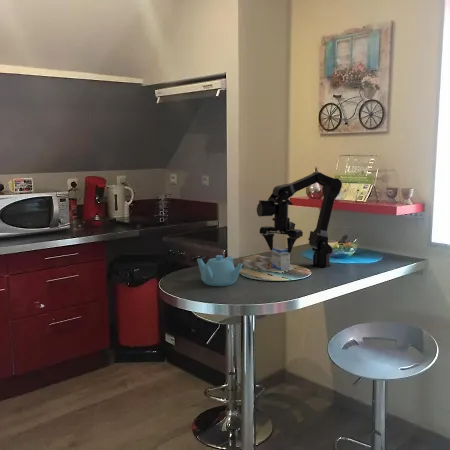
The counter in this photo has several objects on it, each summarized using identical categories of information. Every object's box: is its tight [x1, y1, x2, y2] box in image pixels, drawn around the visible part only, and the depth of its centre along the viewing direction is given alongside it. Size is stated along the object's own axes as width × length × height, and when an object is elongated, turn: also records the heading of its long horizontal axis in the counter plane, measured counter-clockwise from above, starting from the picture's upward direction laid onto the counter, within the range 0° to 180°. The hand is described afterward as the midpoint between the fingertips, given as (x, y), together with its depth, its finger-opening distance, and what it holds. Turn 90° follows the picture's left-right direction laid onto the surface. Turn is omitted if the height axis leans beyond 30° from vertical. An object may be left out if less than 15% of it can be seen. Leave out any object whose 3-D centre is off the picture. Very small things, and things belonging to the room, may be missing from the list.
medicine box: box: [271, 246, 291, 270], centre depth 222 cm, size 8×4×9 cm, turn 25°
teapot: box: [196, 254, 243, 287], centre depth 200 cm, size 15×15×11 cm
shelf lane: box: [240, 254, 272, 272], centre depth 228 cm, size 14×12×4 cm
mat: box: [266, 266, 296, 274], centre depth 222 cm, size 7×12×1 cm, turn 140°
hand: (280, 251), depth 221 cm, fingers open, 9 cm apart
